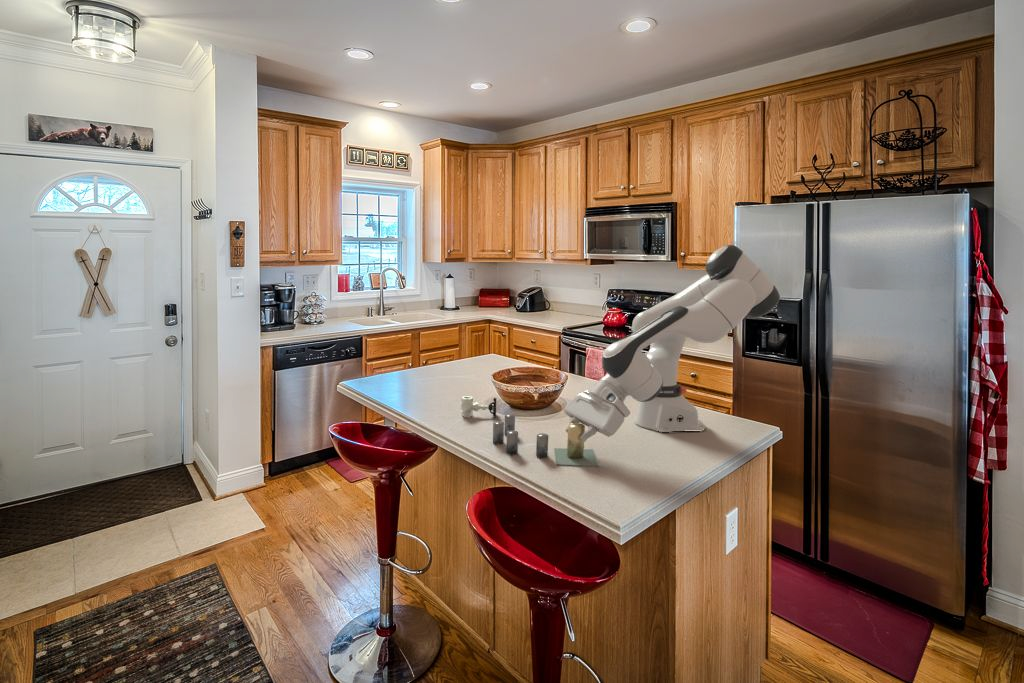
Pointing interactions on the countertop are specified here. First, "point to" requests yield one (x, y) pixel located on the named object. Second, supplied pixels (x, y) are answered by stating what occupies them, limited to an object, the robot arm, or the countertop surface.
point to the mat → (586, 460)
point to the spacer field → (516, 437)
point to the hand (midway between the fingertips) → (574, 436)
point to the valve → (475, 406)
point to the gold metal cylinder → (575, 440)
